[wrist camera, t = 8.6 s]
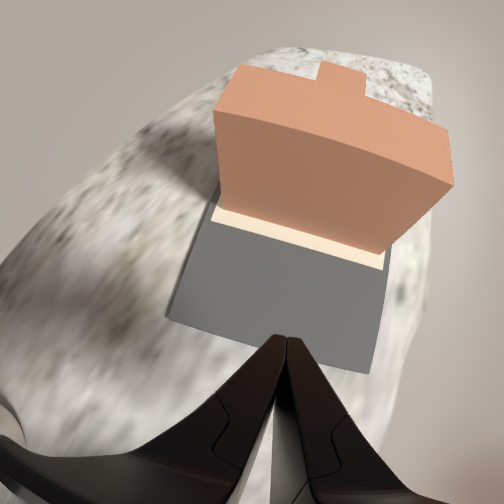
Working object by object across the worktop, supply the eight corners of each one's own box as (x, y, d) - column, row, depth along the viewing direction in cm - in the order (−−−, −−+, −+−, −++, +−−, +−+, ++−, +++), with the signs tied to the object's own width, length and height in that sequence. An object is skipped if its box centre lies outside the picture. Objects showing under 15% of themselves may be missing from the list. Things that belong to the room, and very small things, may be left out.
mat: (366, 373, 19) (368, 374, 19) (168, 319, 20) (167, 318, 20) (396, 124, 27) (397, 122, 27) (262, 85, 28) (262, 82, 28)
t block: (379, 255, 22) (453, 185, 13) (222, 209, 23) (213, 110, 13) (389, 125, 27) (429, 48, 17) (271, 89, 28) (280, 1, 18)
